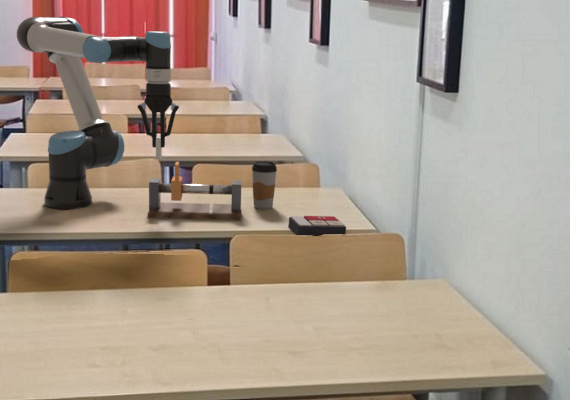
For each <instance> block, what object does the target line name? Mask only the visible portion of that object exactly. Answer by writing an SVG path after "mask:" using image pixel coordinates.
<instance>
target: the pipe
mask: <svg viewBox="0 0 570 400" xmlns="http://www.w3.org/2000/svg"><path fill="white" fill-rule="evenodd" d="M181 193H182V194H190V195H191V194H194V195H195V194H197V195H198V194H199V195H226V196H227V195H229V196H230V195H231V203H230V204H231V212H241V213H242V211H241V209H242V180H237V179H235V180H233V179H232V180H231V184H202V183H201V184H199V183H198V184H197V183H194V184H193V183H190V184H189V183H182V184H181ZM161 194H171V183H163V182H161V178H159V177H158V178H157V177H156V178H155V177H151V178H150V179H149V181H148V211H149V210H159V208H160V203H161Z"/></svg>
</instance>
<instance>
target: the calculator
mask: <svg viewBox="0 0 570 400" xmlns="http://www.w3.org/2000/svg"><path fill="white" fill-rule="evenodd" d="M287 226H288V229H289V230H290V232H292V233H293V234H294V235H295V234H296V235H323V234H346V232H347V226H345V224H344V223H343V222H342V221H341V220H339V219H338V218H337V217H336V216H330V215H329V216H328V215H327V216H325V215H304V216H302V215H301V216H300V215H291V216H289V218H288V225H287ZM296 235H295V236H296Z"/></svg>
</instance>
